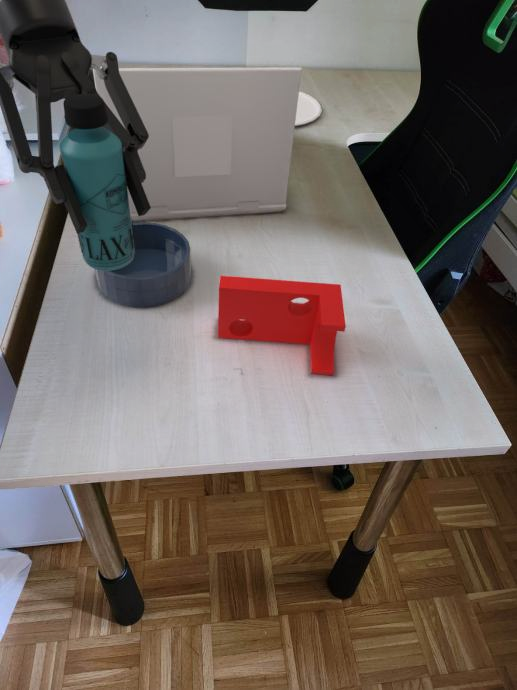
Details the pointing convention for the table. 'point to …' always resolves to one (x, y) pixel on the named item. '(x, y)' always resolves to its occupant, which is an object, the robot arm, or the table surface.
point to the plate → (306, 109)
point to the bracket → (283, 315)
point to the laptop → (212, 138)
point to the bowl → (150, 268)
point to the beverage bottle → (98, 183)
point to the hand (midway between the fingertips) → (114, 220)
